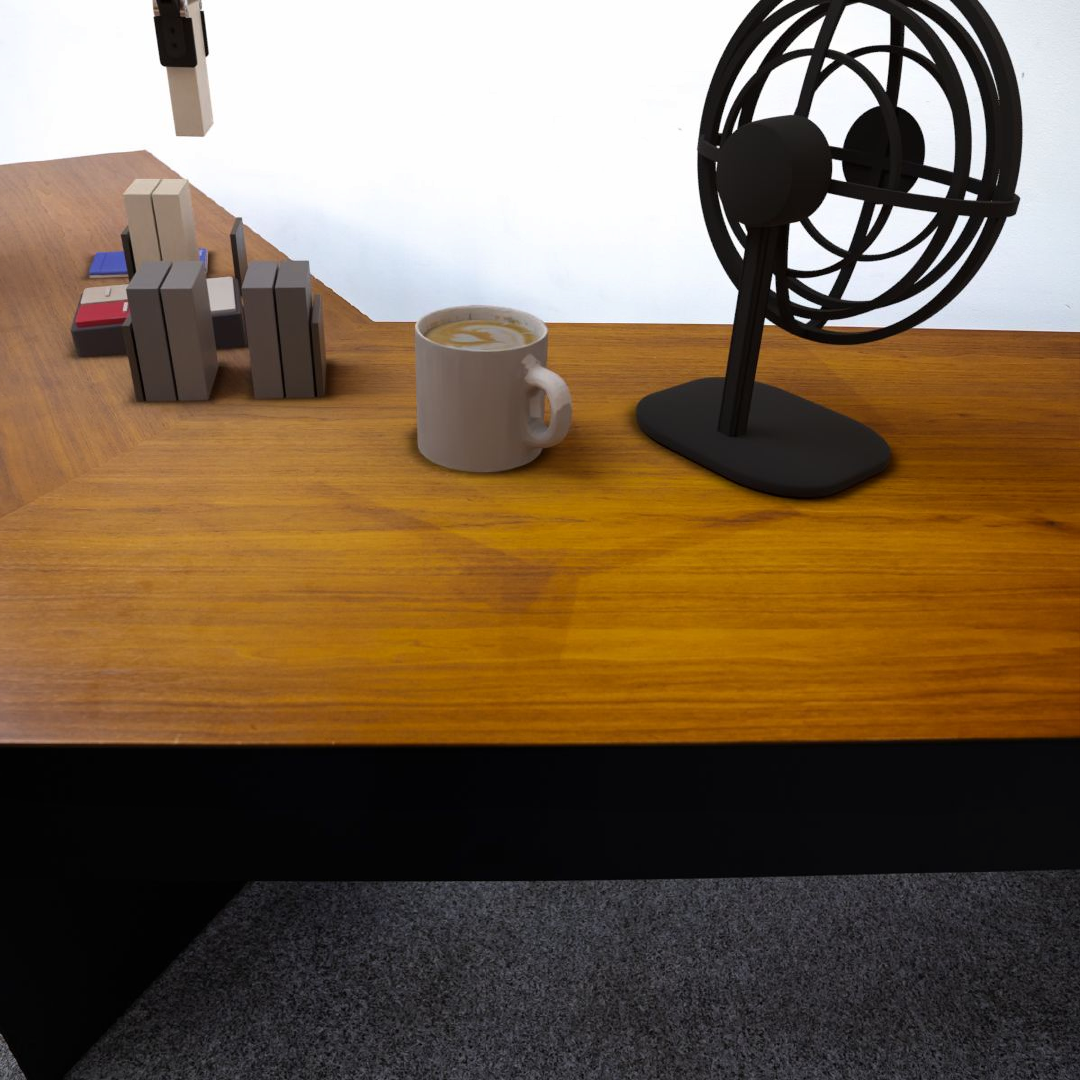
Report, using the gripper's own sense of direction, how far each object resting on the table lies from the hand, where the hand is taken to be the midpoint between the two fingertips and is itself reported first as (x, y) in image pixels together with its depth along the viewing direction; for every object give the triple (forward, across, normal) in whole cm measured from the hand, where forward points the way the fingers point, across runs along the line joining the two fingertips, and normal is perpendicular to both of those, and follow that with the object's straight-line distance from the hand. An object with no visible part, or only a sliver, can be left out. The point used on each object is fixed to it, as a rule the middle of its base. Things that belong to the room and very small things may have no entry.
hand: (185, 59), depth 92 cm
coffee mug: (+23, +38, +26) cm, 51 cm away
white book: (+6, 0, 0) cm, 6 cm away
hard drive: (+24, -12, -9) cm, 28 cm away
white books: (+23, -4, -4) cm, 24 cm away
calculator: (+24, +10, -4) cm, 26 cm away
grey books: (+23, +23, +4) cm, 33 cm away
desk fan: (+23, +36, +48) cm, 65 cm away
